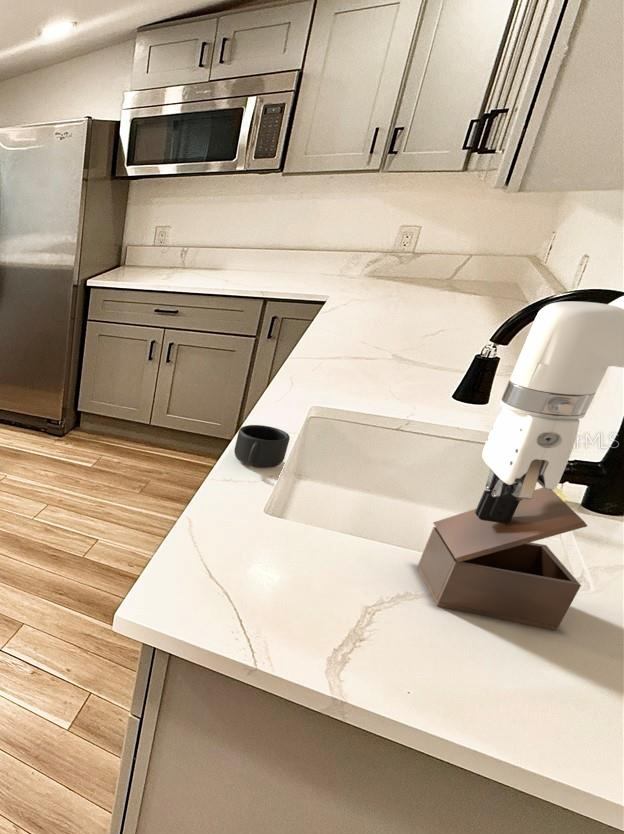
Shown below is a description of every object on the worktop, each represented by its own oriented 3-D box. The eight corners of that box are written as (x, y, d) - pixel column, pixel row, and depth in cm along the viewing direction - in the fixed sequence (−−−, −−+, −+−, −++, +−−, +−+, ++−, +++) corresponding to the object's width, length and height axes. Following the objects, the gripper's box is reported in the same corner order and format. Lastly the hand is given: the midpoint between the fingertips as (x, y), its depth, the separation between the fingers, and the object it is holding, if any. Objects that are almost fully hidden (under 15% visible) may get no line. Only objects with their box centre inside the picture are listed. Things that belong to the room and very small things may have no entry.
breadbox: (524, 587, 93) (546, 544, 89) (556, 630, 84) (581, 585, 81) (416, 567, 98) (433, 526, 95) (436, 606, 90) (455, 562, 87)
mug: (239, 450, 139) (246, 421, 136) (286, 461, 133) (294, 431, 130) (222, 468, 132) (229, 438, 129) (272, 481, 126) (280, 450, 123)
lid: (551, 490, 87) (547, 485, 87) (588, 526, 79) (584, 521, 79) (435, 526, 95) (432, 522, 95) (458, 562, 87) (455, 558, 87)
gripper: (618, 423, 72) (552, 552, 80) (559, 384, 84) (506, 500, 91) (529, 415, 76) (474, 540, 83) (484, 378, 87) (439, 490, 95)
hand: (491, 518), depth 87 cm, fingers closed
